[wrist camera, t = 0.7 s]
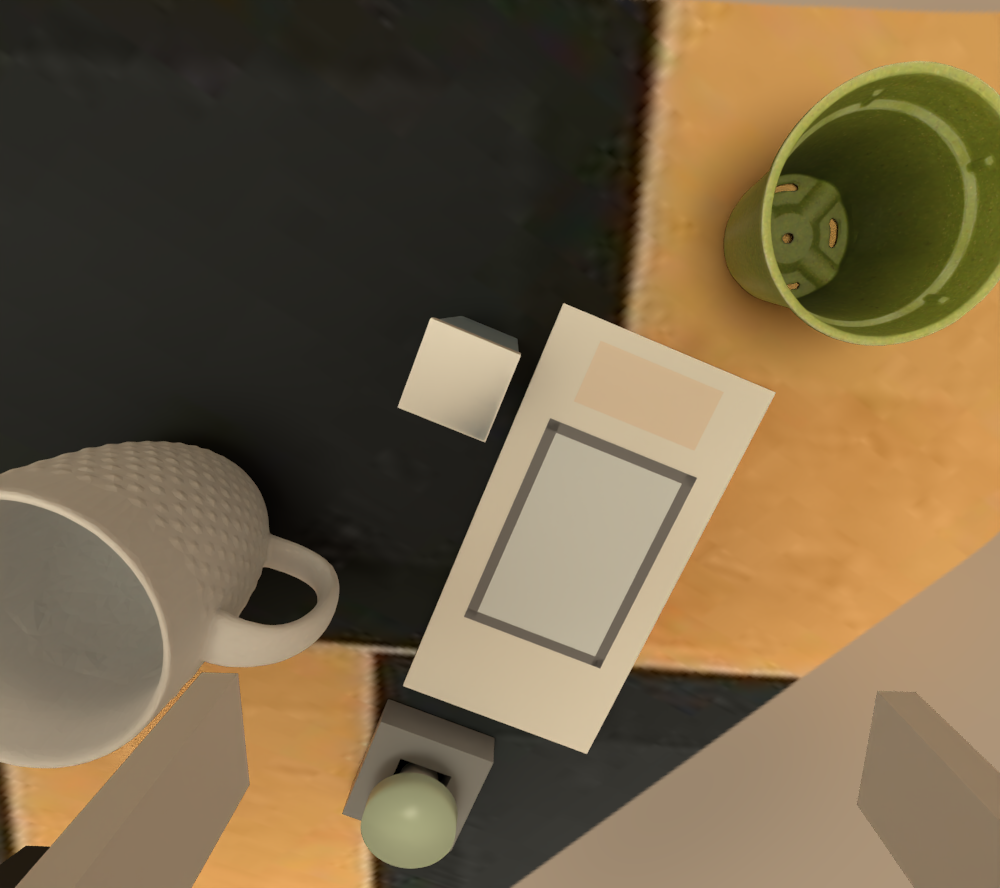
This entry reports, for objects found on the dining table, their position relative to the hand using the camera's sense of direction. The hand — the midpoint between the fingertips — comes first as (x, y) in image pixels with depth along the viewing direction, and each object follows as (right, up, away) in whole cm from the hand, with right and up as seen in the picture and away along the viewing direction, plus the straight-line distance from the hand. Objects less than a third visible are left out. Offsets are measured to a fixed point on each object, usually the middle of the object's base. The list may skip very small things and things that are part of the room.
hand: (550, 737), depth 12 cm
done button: (-6, -14, +23) cm, 28 cm away
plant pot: (+13, +16, +17) cm, 27 cm away
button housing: (-6, -14, +24) cm, 29 cm away
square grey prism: (-2, +11, +18) cm, 22 cm away
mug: (-17, +2, +21) cm, 27 cm away
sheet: (+3, 0, +21) cm, 21 cm away
